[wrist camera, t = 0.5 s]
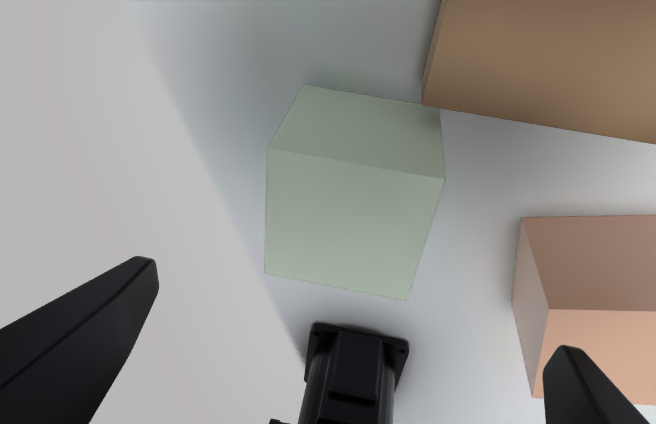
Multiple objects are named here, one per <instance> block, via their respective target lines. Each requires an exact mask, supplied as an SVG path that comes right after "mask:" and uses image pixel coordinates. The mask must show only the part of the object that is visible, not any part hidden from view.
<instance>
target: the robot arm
mask: <svg viewBox="0 0 656 424" xmlns="http://www.w3.org/2000/svg"><path fill="white" fill-rule="evenodd" d="M158 290H159V281H158V274H157V267H156V263H155V261H154V260H153V259H151V258H146V257H141V256H135V257H133V258H131V259H129V260H127V261H125V262H124V263H121V264H120V265H118V266H116V267H114V268H112V269H110V270H109V271H107V272H105V273H103V274H101V275H99V276H97V277H96V278H94V279H92V280H90V281H88V282H86V283H84V284H83V285H81V286H79V287H77V288H75V289H73V290H72V291H70V292H68V293H66V294H64V295H63V296H60V297H59V298H57V299H55V300H53V301H51V302H49V303H48V304H46V305H44V306H42V307H40V308H38V309H36V310H35V311H33V312H31V313H29V314H27V315H25V316H24V317H22V318H20V319H18V320H16V321H14V322H13V323H11V324H9V325H7V326H5V327H3V328H1V329H0V424H89V422H90V421H91V419H92V417H93V416H94V414H95V412H96V410H97V409H98V407H99V406H100V404H101V402H102V401H103V399H104V397H105V396H106V394H107V392H108V390H109V389H110V387H111V385H112V384H113V382H114V380H115V379H116V377H117V375H118V374H119V372H120V370H121V369H122V367H123V365H124V364H125V362H126V360H127V358H128V356H129V355H130V353H131V350H132V349H133V347H134V345H135V342H136V340H137V338H138V336H139V333H140V331H141V329H142V327H143V325H144V323H145V320H146V318H147V316H148V314H149V312H150V309H151V307H152V305H153V303H154V300H155V298H156V296H157V294H158ZM408 354H409V344H408V343H406V342H404V341H400V340H395V339H390V338H385V337H380V336H375V335H370V334H365V333H361V332H356V331H351V330H346V329H341V328H336V327H331V326H326V325H322V324H314V325H312V327H311V331H310V337H309V345H308V352H307V360H306V368H305V375H304V381H305V382H306V383H307V385H306V389H305V394H304V398H303V403H302V407H301V411H300V416H299V420H298V424H393V406H394V393H395V390H396V387H397V384H398V382H399V379H400V376H401V373H402V371H403V368H404V365H405V362H406V360H407V357H408ZM542 379H543V392H544V405H545V417H546V424H650V423H649V422H648V421H647V420H646V419H645V418H644V417H643V415H642V414H641V413H640V412H639V411H638V410H637V409H636V408H635V407H634V406H633V404H632V403H631V402H630V401H629V400H628V399H627V398H626V397H625V396H624V394H623V393H622V392H621V391H620V390H619V389H618V388H617V387H616V386H615V385H614V383H613V382H612V381H611V380H610V379H609V378H608V377H607V376H606V375H605V373H604V372H603V371H602V370H601V369H600V368H599V367H598V366H597V365H596V364H595V362H594V361H593V360H592V359H591V358H590V357H589V356H588V355H587V354H586V352H585V351H583V350H582V349H580V348H578V347H573V346H568V345H560V346H558V347H557V349H556V350H555V352H554V353H553V355H552V356H551V358H550V359H549V361H548V362H547V364H546V365H545V367H544V369H543V375H542ZM269 424H289V423H283V422H280V420H276V419H271V420H270V422H269Z"/></svg>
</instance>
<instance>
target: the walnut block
mask: <svg viewBox="0 0 656 424" xmlns="http://www.w3.org/2000/svg"><path fill="white" fill-rule="evenodd" d="M422 105H424V106H430V107H436V108H442V109H448V110H454V111H460V112H466V113H471V114H477V115H483V116H489V117H495V118H501V119H507V120H513V121H519V122H525V123H531V124H537V125H543V126H549V127H555V128H561V129H567V130H573V131H579V132H585V133H591V134H597V135H602V136H608V137H614V138H620V139H626V140H632V141H638V142H644V143H650V144H656V0H441V3H440V7H439V11H438V15H437V20H436V24H435V28H434V32H433V36H432V40H431V44H430V49H429V53H428V57H427V61H426V65H425V69H424V73H423V77H422Z"/></svg>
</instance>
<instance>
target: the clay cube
mask: <svg viewBox="0 0 656 424" xmlns="http://www.w3.org/2000/svg"><path fill="white" fill-rule="evenodd" d="M511 303H512V308H513V312H514V317H515V322H516V326H517V331H518V335H519V340H520V345H521V349H522V354H523V358H524V363H525V367H526V372H527V377H528V381H529V386H530V390H531V395H532V398H544V392H543V379H542V375H543V369H544V367H545V365H546V364H547V362H548V361H549V359H550V358H551V356H552V355H553V353H554V352H555V350H556V349H557V347H558V346H560V345H568V346H573V347H578V348H580V349H582V350H583V351H585V352H586V354H587V355H588V356H589V357H590V358H591V359H592V360H593V361H594V362H595V364H596V365H597V366H598V367H599V368H600V369H601V370H602V371H603V372H604V373H605V375H606V376H607V377H608V378H609V379H610V380H611V381H612V382H613V383H614V385H615V386H616V387H617V388H618V389H619V390H620V391H621V392H622V393H623V394H624V396H625V397H626V398H627V399H628V400H629V401H630V402H631V403H632V404H643V405H656V215H612V216H567V217H521V225H520V234H519V242H518V250H517V258H516V266H515V275H514V283H513V291H512V299H511Z"/></svg>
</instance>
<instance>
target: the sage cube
mask: <svg viewBox="0 0 656 424" xmlns="http://www.w3.org/2000/svg"><path fill="white" fill-rule="evenodd" d="M444 182H445V170H444V158H443V147H442V135H441V123H440V112H439V108H436V107H430V106H424V105H422V104H418V103H412V102H406V101H400V100H394V99H388V98H382V97H376V96H370V95H364V94H358V93H352V92H346V91H340V90H334V89H328V88H322V87H316V86H310V85H303V87H302V88H301V90H300V92H299V94H298V95H297V97H296V99H295V101H294V102H293V104H292V106H291V108H290V109H289V111H288V113H287V114H286V116H285V118H284V120H283V121H282V123H281V125H280V127H279V128H278V130H277V132H276V134H275V135H274V137H273V139H272V141H271V142H270V144H269V146H268V148H267V179H266V220H265V261H264V273H266V274H271V275H276V276H281V277H286V278H291V279H296V280H301V281H306V282H311V283H316V284H321V285H326V286H331V287H336V288H341V289H346V290H351V291H357V292H362V293H367V294H372V295H377V296H382V297H387V298H392V299H397V300H402V301H407V298H408V295H409V292H410V288H411V285H412V282H413V279H414V276H415V273H416V270H417V267H418V263H419V260H420V257H421V254H422V251H423V248H424V245H425V242H426V239H427V235H428V232H429V229H430V226H431V223H432V220H433V217H434V214H435V210H436V207H437V204H438V201H439V198H440V195H441V192H442V189H443V185H444Z"/></svg>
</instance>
